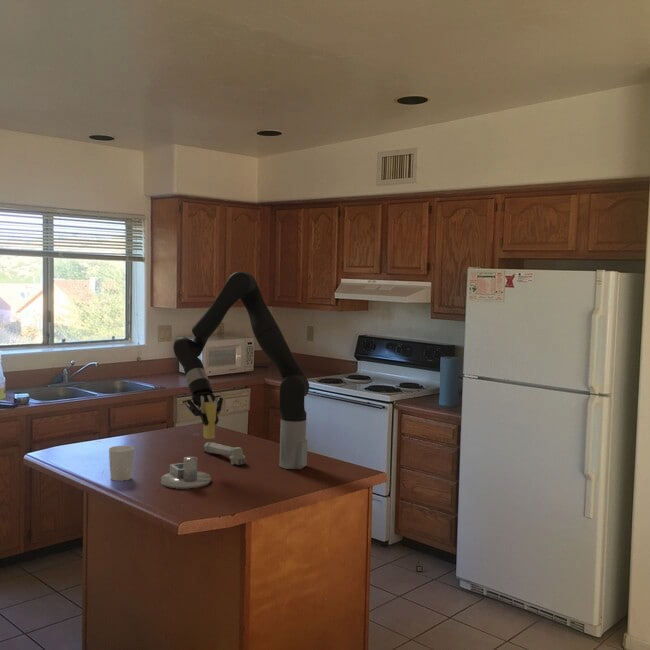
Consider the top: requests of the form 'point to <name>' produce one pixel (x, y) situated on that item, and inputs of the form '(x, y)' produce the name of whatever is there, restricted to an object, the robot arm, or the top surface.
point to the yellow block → (209, 420)
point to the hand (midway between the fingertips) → (211, 423)
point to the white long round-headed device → (225, 452)
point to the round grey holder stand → (185, 475)
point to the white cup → (121, 462)
